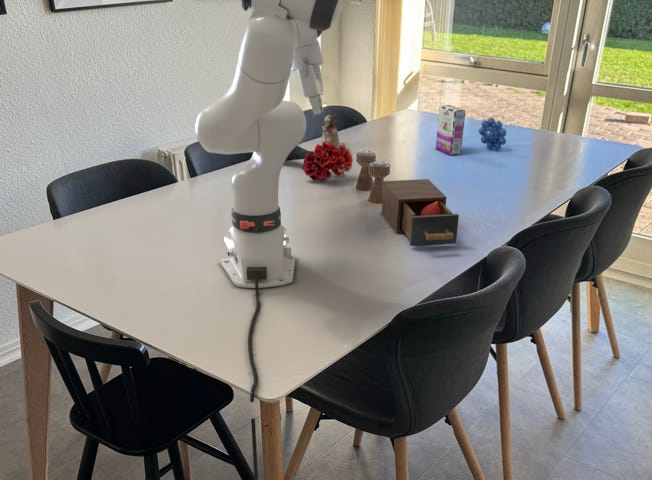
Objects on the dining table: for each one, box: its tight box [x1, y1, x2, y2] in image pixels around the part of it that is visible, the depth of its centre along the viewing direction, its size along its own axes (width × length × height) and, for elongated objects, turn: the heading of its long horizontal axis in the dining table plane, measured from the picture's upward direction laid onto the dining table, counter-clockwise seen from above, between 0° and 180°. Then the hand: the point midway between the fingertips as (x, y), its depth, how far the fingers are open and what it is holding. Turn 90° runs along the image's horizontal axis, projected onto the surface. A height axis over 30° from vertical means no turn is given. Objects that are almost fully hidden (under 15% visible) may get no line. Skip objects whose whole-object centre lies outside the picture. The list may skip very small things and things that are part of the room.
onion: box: [420, 201, 442, 216], centre depth 192 cm, size 6×6×8 cm
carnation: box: [284, 142, 354, 182], centre depth 241 cm, size 16×18×35 cm
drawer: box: [400, 200, 460, 247], centre depth 189 cm, size 21×13×8 cm, turn 11°
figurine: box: [320, 114, 340, 148], centre depth 272 cm, size 7×7×12 cm
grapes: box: [478, 116, 507, 151], centre depth 270 cm, size 12×7×12 cm, turn 55°
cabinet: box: [381, 178, 447, 234], centre depth 202 cm, size 17×14×10 cm
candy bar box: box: [435, 104, 466, 156], centre depth 266 cm, size 11×5×16 cm, turn 25°
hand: (319, 113), depth 189 cm, fingers open, 8 cm apart
